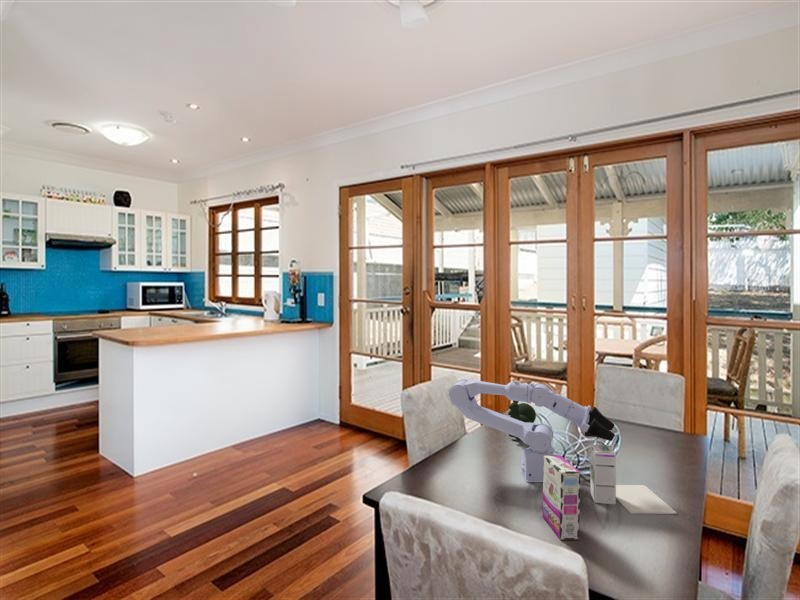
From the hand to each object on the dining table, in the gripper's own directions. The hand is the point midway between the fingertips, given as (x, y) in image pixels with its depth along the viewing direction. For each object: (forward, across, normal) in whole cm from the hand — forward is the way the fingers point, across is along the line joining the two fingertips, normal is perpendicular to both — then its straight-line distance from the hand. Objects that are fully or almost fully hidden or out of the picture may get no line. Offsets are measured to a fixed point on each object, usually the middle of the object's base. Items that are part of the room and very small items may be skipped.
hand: (613, 432), depth 133 cm
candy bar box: (-5, -30, +18) cm, 36 cm away
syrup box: (+4, -10, +16) cm, 19 cm away
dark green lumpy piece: (-21, +36, +32) cm, 53 cm away
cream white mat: (+13, -6, +12) cm, 19 cm away
